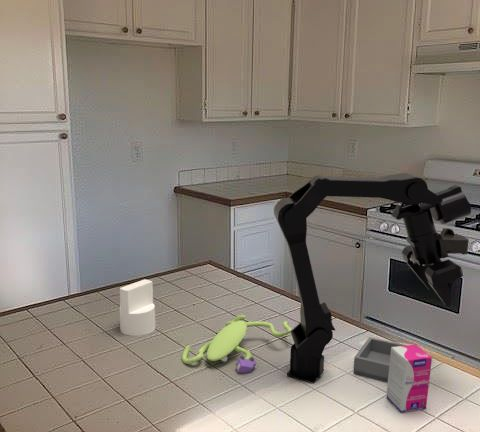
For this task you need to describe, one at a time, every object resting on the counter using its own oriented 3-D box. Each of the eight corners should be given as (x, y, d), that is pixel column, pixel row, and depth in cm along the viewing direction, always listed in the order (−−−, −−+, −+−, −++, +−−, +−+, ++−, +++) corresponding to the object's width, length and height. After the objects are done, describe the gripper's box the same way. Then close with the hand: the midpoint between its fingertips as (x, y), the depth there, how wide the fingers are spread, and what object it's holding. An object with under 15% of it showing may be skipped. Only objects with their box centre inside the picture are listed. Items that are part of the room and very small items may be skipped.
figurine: (299, 341, 136) (300, 320, 135) (238, 387, 115) (239, 362, 113) (239, 323, 146) (239, 303, 145) (173, 362, 125) (172, 339, 124)
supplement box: (401, 414, 105) (405, 360, 102) (385, 397, 110) (389, 346, 108) (427, 409, 106) (432, 356, 104) (410, 394, 112) (415, 342, 109)
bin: (353, 373, 120) (354, 357, 119) (368, 352, 129) (369, 336, 129) (407, 387, 114) (408, 370, 113) (418, 364, 124) (419, 348, 123)
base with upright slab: (136, 339, 135) (135, 293, 133) (113, 329, 141) (111, 285, 138) (162, 327, 142) (161, 283, 140) (139, 318, 148) (137, 276, 145)
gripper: (478, 229, 104) (497, 301, 108) (440, 209, 122) (457, 271, 126) (423, 248, 105) (443, 319, 108) (393, 226, 123) (411, 287, 126)
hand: (440, 297), depth 117 cm, fingers open, 9 cm apart
